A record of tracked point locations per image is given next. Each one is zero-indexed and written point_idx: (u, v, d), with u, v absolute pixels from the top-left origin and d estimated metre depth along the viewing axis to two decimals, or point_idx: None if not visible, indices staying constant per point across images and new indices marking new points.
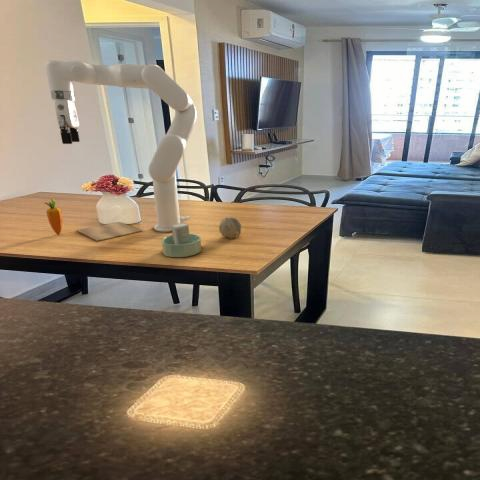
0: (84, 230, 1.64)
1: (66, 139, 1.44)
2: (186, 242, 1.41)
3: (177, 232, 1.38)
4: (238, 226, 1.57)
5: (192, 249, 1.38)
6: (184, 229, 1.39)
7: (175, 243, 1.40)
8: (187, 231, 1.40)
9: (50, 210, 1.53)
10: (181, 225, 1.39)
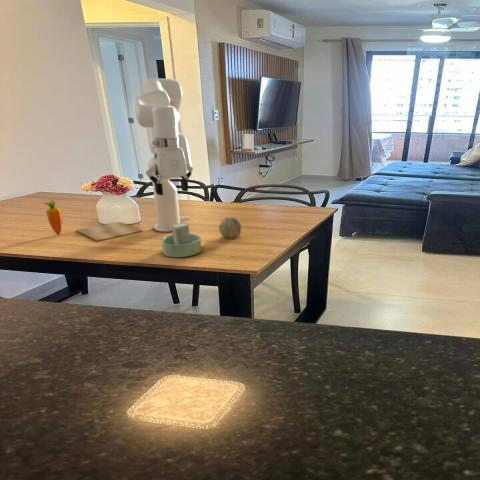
0: (84, 230, 1.64)
1: (156, 190, 1.32)
2: (186, 242, 1.41)
3: (177, 232, 1.38)
4: (238, 226, 1.57)
5: (192, 249, 1.38)
6: (184, 229, 1.39)
7: (175, 243, 1.40)
8: (187, 231, 1.40)
9: (50, 210, 1.53)
10: (181, 225, 1.39)
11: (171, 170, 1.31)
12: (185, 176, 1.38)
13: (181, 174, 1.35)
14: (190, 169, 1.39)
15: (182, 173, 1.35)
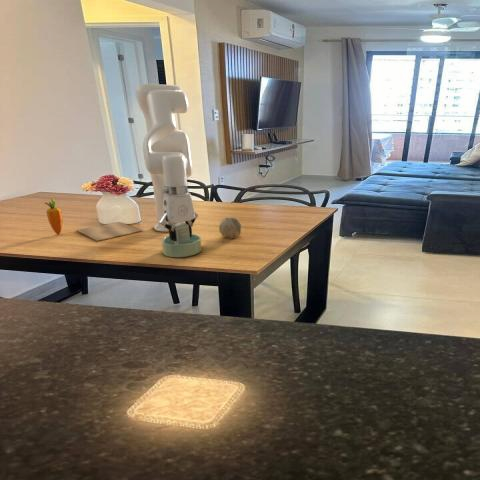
0: (84, 230, 1.64)
1: (170, 236, 1.38)
2: (186, 242, 1.41)
3: (177, 232, 1.38)
4: (238, 226, 1.57)
5: (192, 249, 1.38)
6: (184, 229, 1.39)
7: (175, 243, 1.40)
8: (187, 231, 1.40)
9: (50, 210, 1.53)
10: (181, 225, 1.39)
11: (180, 216, 1.36)
12: (189, 223, 1.41)
13: (189, 219, 1.39)
14: (195, 216, 1.44)
15: (190, 217, 1.39)
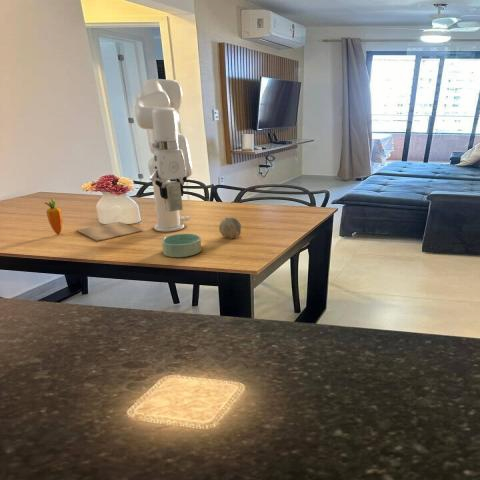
0: (84, 230, 1.64)
1: (161, 194, 1.34)
2: (177, 200, 1.38)
3: (168, 189, 1.34)
4: (238, 226, 1.57)
5: (192, 249, 1.38)
6: (175, 187, 1.36)
7: (166, 201, 1.37)
8: (179, 189, 1.37)
9: (50, 210, 1.53)
10: (172, 183, 1.36)
11: (171, 172, 1.33)
12: (180, 181, 1.38)
13: (181, 176, 1.36)
14: (187, 174, 1.40)
15: (182, 175, 1.36)
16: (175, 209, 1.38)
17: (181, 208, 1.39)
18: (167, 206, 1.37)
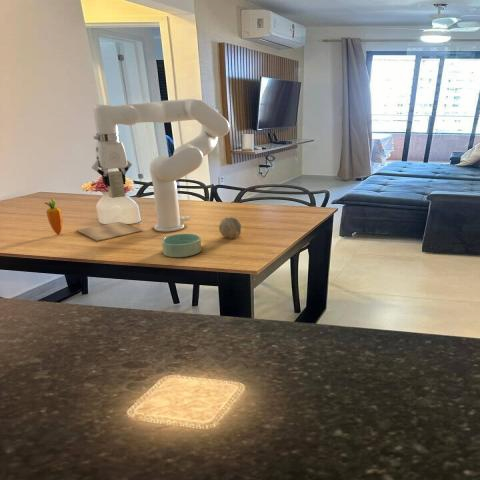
0: (84, 230, 1.64)
1: (104, 182, 1.49)
2: (119, 188, 1.53)
3: (110, 177, 1.49)
4: (238, 226, 1.57)
5: (192, 249, 1.38)
6: (117, 175, 1.51)
7: (109, 188, 1.52)
8: (120, 177, 1.52)
9: (50, 210, 1.53)
10: (114, 172, 1.51)
11: (112, 162, 1.48)
12: (122, 170, 1.53)
13: (122, 166, 1.51)
14: (129, 165, 1.55)
15: (123, 165, 1.51)
16: (117, 196, 1.53)
17: (123, 195, 1.54)
18: (110, 193, 1.52)
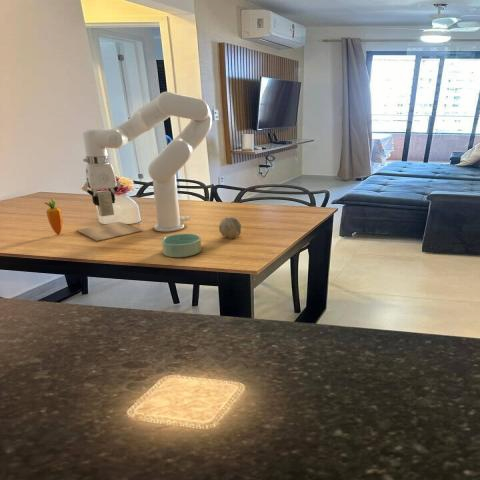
0: (84, 230, 1.64)
1: (93, 201, 1.57)
2: (109, 207, 1.60)
3: (99, 197, 1.57)
4: (238, 226, 1.57)
5: (192, 249, 1.38)
6: (106, 195, 1.58)
7: (99, 207, 1.59)
8: (109, 197, 1.59)
9: (50, 210, 1.53)
10: (104, 191, 1.59)
11: (101, 183, 1.55)
12: (111, 190, 1.60)
13: (111, 186, 1.58)
14: (118, 185, 1.63)
15: (112, 185, 1.59)
16: (107, 214, 1.60)
17: (112, 213, 1.62)
18: (99, 212, 1.60)
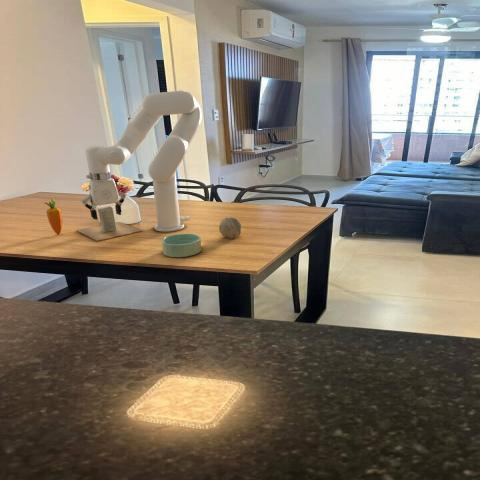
0: (84, 230, 1.64)
1: (92, 215, 1.57)
2: (111, 223, 1.62)
3: (102, 213, 1.59)
4: (238, 226, 1.57)
5: (192, 249, 1.38)
6: (108, 211, 1.60)
7: (101, 223, 1.61)
8: (112, 213, 1.61)
9: (50, 210, 1.53)
10: (106, 208, 1.61)
11: (104, 199, 1.57)
12: (118, 202, 1.64)
13: (113, 201, 1.61)
14: (123, 196, 1.65)
15: (114, 200, 1.61)
16: (109, 230, 1.62)
17: (115, 229, 1.64)
18: (102, 228, 1.62)
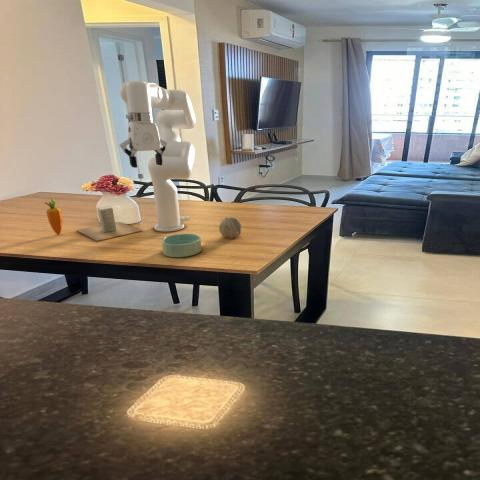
0: (84, 230, 1.64)
1: (131, 162, 1.38)
2: (111, 223, 1.62)
3: (102, 213, 1.59)
4: (238, 226, 1.57)
5: (192, 249, 1.38)
6: (108, 211, 1.60)
7: (101, 223, 1.61)
8: (112, 213, 1.61)
9: (50, 210, 1.53)
10: (106, 208, 1.61)
11: (145, 144, 1.38)
12: (159, 150, 1.44)
13: (155, 148, 1.41)
14: (164, 144, 1.46)
15: (156, 147, 1.41)
16: (109, 230, 1.62)
17: (115, 229, 1.64)
18: (102, 228, 1.62)
